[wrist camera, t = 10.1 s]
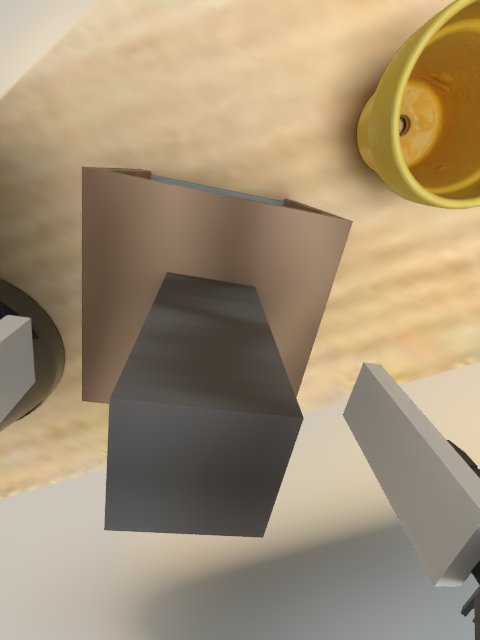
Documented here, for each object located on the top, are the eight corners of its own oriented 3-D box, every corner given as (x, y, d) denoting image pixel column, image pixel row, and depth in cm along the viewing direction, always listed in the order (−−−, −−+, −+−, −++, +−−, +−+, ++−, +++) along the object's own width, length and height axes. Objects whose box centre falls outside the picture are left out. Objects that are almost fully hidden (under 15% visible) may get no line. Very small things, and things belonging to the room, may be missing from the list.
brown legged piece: (130, 315, 30) (-38, 609, 10) (140, 169, 25) (-155, 157, 5) (261, 333, 32) (346, 614, 12) (294, 200, 27) (538, 286, 7)
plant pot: (307, 112, 25) (358, 80, 16) (428, 11, 23) (562, -88, 14) (367, 222, 29) (436, 245, 20) (476, 144, 27) (605, 130, 18)
